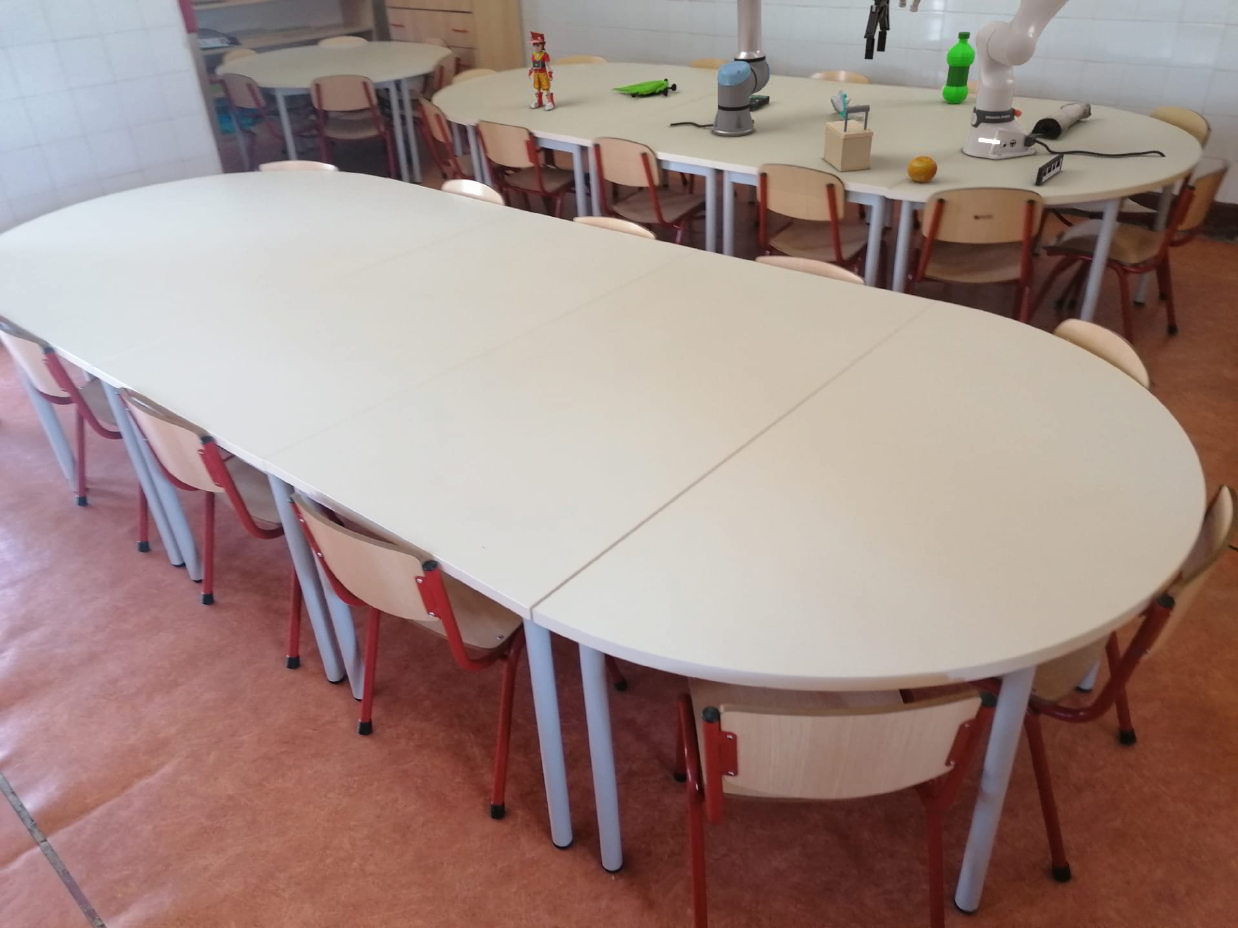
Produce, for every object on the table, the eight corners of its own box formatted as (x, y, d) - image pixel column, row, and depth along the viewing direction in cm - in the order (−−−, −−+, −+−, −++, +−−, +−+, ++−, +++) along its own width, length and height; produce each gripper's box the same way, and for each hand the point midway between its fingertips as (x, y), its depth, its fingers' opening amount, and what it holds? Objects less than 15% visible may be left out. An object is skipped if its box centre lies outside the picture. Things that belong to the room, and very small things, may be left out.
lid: (873, 136, 285) (876, 107, 280) (843, 139, 284) (846, 110, 279) (854, 123, 298) (856, 96, 293) (825, 126, 297) (828, 98, 292)
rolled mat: (1058, 107, 328) (1083, 90, 320) (1071, 128, 329) (1097, 111, 320) (1025, 130, 311) (1051, 112, 303) (1040, 152, 311) (1065, 134, 303)
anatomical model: (825, 90, 346) (851, 83, 346) (828, 117, 352) (853, 110, 352) (836, 99, 334) (863, 92, 333) (839, 127, 340) (865, 120, 339)
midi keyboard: (1039, 185, 269) (1043, 168, 266) (1035, 184, 270) (1038, 168, 267) (1060, 170, 279) (1064, 154, 277) (1056, 169, 280) (1060, 153, 277)
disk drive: (754, 111, 359) (769, 102, 369) (754, 104, 357) (770, 95, 367) (731, 109, 364) (746, 100, 374) (731, 102, 362) (747, 93, 372)
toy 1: (525, 109, 381) (517, 32, 364) (534, 104, 388) (527, 28, 371) (550, 110, 377) (543, 32, 360) (559, 105, 384) (553, 28, 367)
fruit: (901, 172, 275) (918, 148, 272) (903, 174, 283) (919, 151, 280) (924, 187, 274) (941, 164, 271) (925, 189, 282) (942, 166, 279)
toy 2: (686, 85, 398) (631, 84, 414) (685, 72, 395) (629, 72, 411) (651, 104, 381) (596, 103, 397) (650, 92, 378) (594, 91, 394)
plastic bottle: (973, 101, 354) (984, 32, 339) (955, 106, 349) (966, 36, 335) (952, 97, 361) (962, 29, 346) (934, 102, 356) (944, 33, 342)
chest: (868, 168, 292) (872, 135, 286) (840, 171, 291) (843, 138, 285) (850, 155, 304) (853, 124, 298) (823, 158, 303) (825, 126, 297)
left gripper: (882, -8, 286) (874, 63, 299) (904, -19, 304) (896, 49, 316) (859, -9, 290) (852, 62, 302) (882, -19, 307) (875, 48, 319)
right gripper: (938, -40, 256) (931, 14, 263) (912, -47, 272) (905, 4, 280) (917, -38, 255) (910, 15, 263) (891, -45, 272) (886, 5, 280)
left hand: (874, 55), depth 309 cm, fingers open, 13 cm apart
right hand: (907, 9), depth 272 cm, fingers open, 8 cm apart
